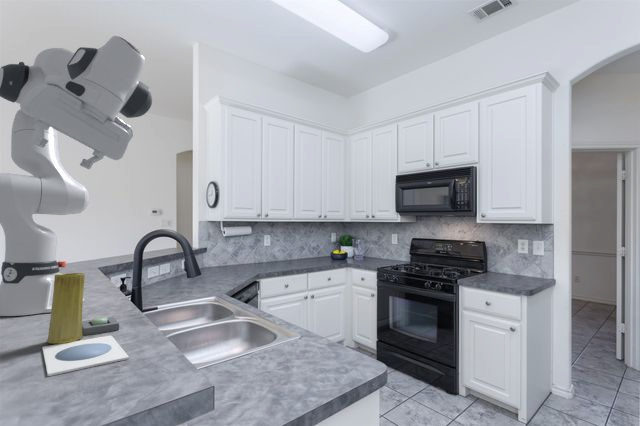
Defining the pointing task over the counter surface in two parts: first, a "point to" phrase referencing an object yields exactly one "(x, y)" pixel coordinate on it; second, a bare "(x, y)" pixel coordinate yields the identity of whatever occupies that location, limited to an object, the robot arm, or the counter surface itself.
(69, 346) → the paper pad
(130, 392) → the counter surface
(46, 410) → the counter surface
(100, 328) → the button collar
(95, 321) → the button
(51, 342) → the vase
